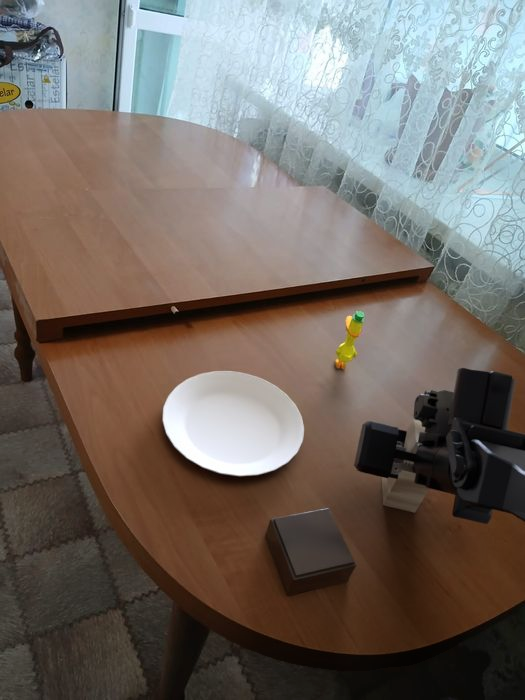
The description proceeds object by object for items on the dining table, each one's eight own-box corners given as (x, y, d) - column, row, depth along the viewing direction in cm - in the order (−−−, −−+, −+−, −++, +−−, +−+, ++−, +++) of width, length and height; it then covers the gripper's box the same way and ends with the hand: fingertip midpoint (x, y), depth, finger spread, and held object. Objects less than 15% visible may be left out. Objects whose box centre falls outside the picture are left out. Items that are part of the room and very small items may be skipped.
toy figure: (328, 351, 101) (346, 297, 93) (347, 354, 101) (366, 300, 94) (332, 375, 95) (352, 320, 88) (352, 378, 96) (373, 323, 88)
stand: (348, 581, 65) (357, 563, 63) (287, 596, 62) (294, 578, 60) (321, 524, 71) (329, 505, 68) (264, 535, 68) (270, 516, 65)
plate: (232, 513, 69) (235, 503, 68) (131, 418, 79) (132, 407, 77) (327, 438, 83) (331, 428, 82) (232, 364, 92) (234, 354, 91)
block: (415, 512, 75) (452, 451, 67) (382, 505, 75) (416, 442, 67) (412, 486, 79) (447, 424, 71) (381, 479, 79) (413, 416, 71)
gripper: (554, 414, 60) (490, 415, 75) (389, 375, 60) (359, 384, 75) (537, 516, 58) (476, 496, 74) (368, 476, 58) (342, 464, 74)
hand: (413, 458), depth 74 cm, fingers open, 6 cm apart
